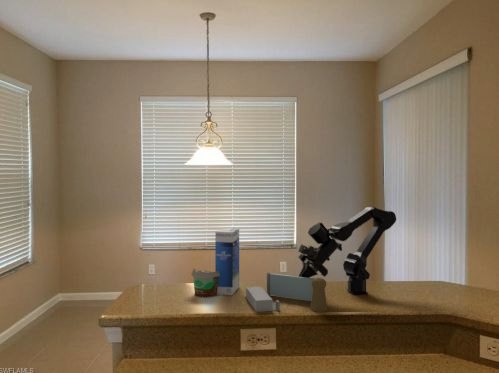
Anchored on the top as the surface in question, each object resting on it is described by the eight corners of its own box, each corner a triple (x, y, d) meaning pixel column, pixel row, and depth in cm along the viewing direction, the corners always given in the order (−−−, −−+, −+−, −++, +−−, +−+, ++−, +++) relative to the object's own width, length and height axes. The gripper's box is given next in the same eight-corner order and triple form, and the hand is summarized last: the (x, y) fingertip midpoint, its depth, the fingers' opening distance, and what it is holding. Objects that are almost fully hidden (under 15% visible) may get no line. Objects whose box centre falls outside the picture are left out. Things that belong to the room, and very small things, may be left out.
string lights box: (223, 286, 170) (223, 227, 170) (240, 287, 168) (240, 228, 168) (214, 294, 157) (214, 231, 157) (232, 295, 155) (232, 231, 155)
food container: (185, 296, 155) (185, 271, 155) (193, 292, 161) (193, 268, 161) (213, 299, 150) (212, 273, 150) (220, 295, 156) (220, 270, 156)
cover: (272, 293, 157) (272, 273, 157) (320, 300, 148) (320, 278, 148) (270, 295, 155) (270, 274, 155) (318, 302, 146) (318, 279, 146)
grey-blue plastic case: (269, 294, 157) (269, 272, 157) (284, 310, 137) (284, 284, 137) (245, 296, 155) (245, 273, 155) (256, 312, 135) (256, 286, 135)
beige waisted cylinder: (327, 307, 141) (327, 277, 141) (327, 312, 135) (327, 281, 135) (310, 306, 142) (310, 276, 142) (310, 311, 136) (310, 280, 136)
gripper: (302, 234, 161) (277, 262, 159) (320, 240, 143) (291, 272, 141) (320, 252, 163) (295, 280, 161) (339, 261, 145) (312, 292, 143)
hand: (298, 280), depth 151 cm, fingers closed
